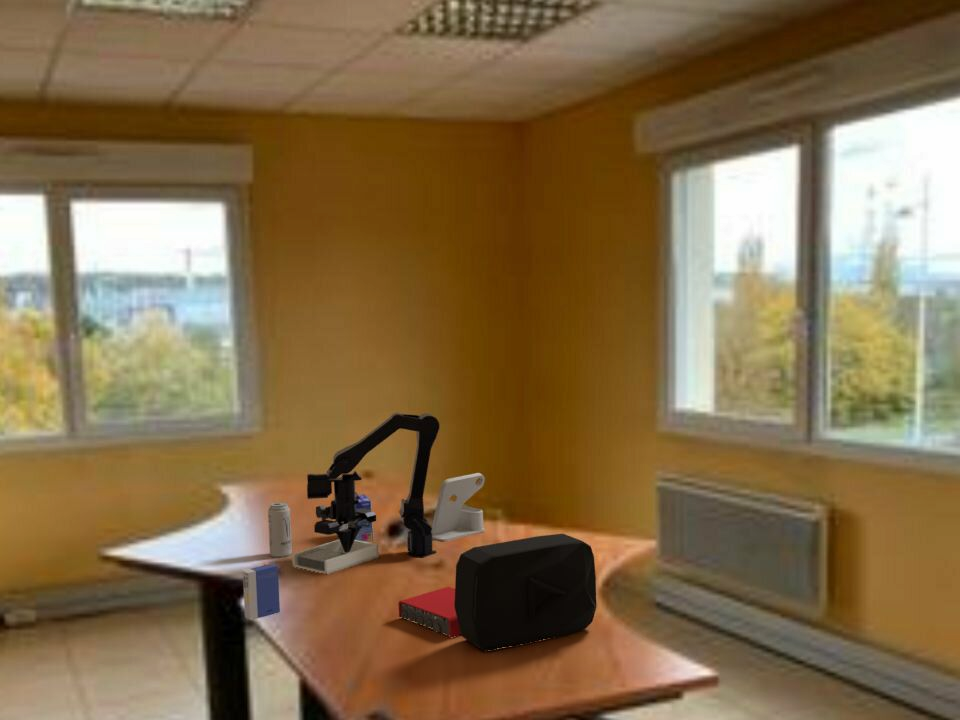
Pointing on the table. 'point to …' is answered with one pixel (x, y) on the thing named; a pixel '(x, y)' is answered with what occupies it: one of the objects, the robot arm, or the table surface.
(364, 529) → the ink cartridge box
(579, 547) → the black hard case
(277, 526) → the energy drink can
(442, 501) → the phone holder
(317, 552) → the cover plate
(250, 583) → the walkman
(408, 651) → the table surface
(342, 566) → the tray
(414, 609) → the red device housing
